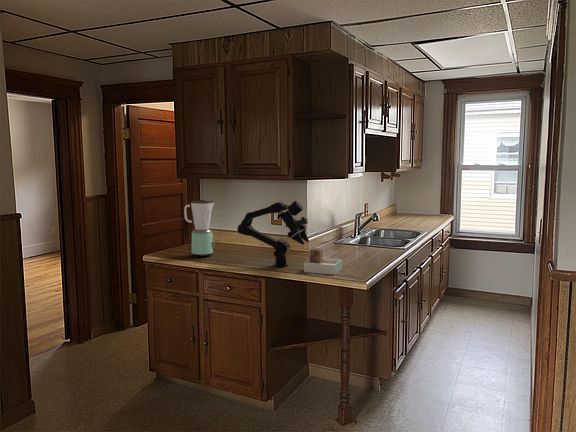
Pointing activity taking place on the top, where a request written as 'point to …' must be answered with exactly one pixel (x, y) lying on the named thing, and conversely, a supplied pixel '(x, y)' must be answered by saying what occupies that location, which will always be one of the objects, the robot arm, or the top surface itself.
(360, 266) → the top surface
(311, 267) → the box
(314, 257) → the walnut block
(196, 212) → the mint green blender
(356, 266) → the top surface
